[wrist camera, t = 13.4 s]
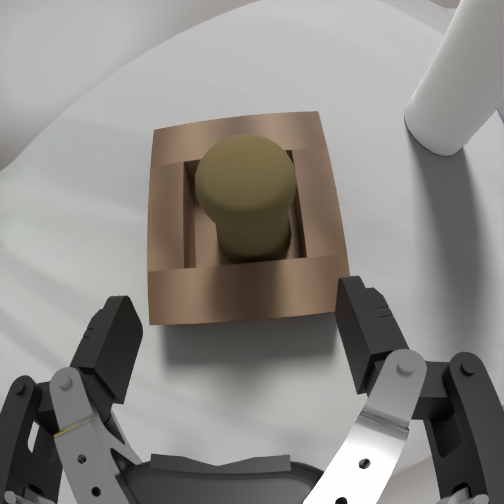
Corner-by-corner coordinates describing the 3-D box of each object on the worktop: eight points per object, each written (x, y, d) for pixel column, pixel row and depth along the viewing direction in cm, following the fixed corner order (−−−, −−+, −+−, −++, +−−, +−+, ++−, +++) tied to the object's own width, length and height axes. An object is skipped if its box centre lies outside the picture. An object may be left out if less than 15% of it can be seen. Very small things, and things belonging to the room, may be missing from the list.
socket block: (170, 324, 24) (149, 325, 19) (169, 155, 27) (153, 130, 23) (338, 310, 23) (353, 308, 19) (312, 139, 27) (317, 111, 22)
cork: (306, 242, 23) (335, 183, 13) (242, 284, 23) (220, 256, 12) (264, 185, 25) (260, 99, 14) (203, 223, 24) (158, 155, 14)
